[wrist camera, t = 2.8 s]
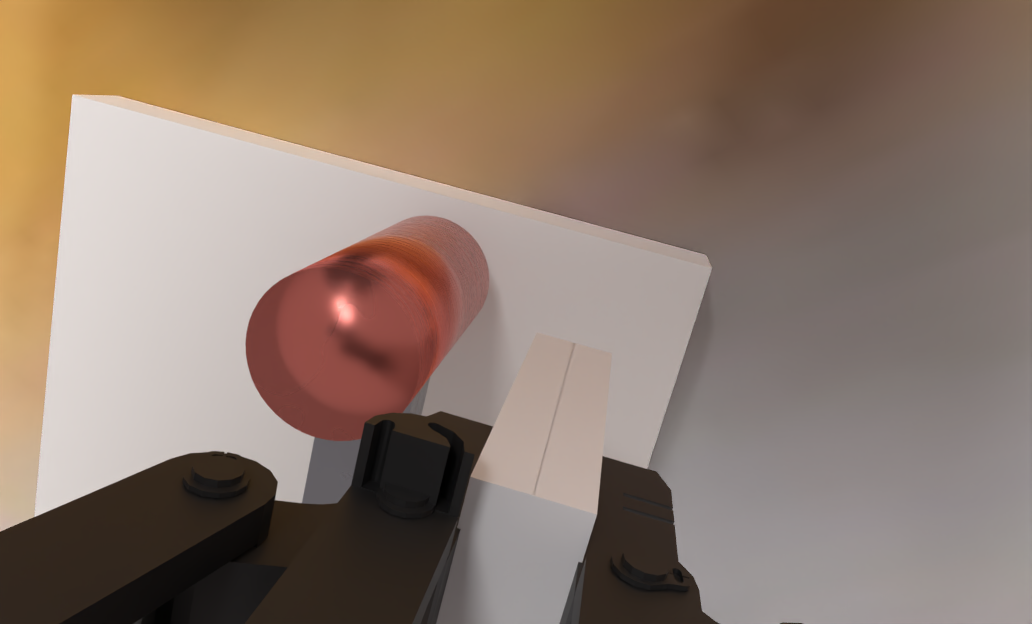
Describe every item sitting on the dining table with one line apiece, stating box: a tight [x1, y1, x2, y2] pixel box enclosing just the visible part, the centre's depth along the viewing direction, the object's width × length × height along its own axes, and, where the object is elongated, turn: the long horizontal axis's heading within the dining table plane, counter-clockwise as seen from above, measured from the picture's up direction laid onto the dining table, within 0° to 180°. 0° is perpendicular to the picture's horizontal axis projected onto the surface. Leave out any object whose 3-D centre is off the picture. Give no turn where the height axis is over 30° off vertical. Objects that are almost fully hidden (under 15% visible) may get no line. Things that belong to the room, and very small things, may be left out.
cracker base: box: [34, 95, 712, 517], centre depth 25 cm, size 22×18×4 cm
